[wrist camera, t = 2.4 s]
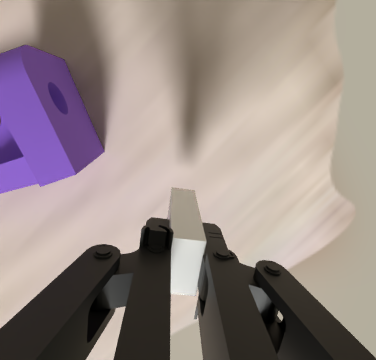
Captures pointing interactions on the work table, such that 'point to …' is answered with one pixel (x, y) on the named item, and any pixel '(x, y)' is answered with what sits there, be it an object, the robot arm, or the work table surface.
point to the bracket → (41, 121)
